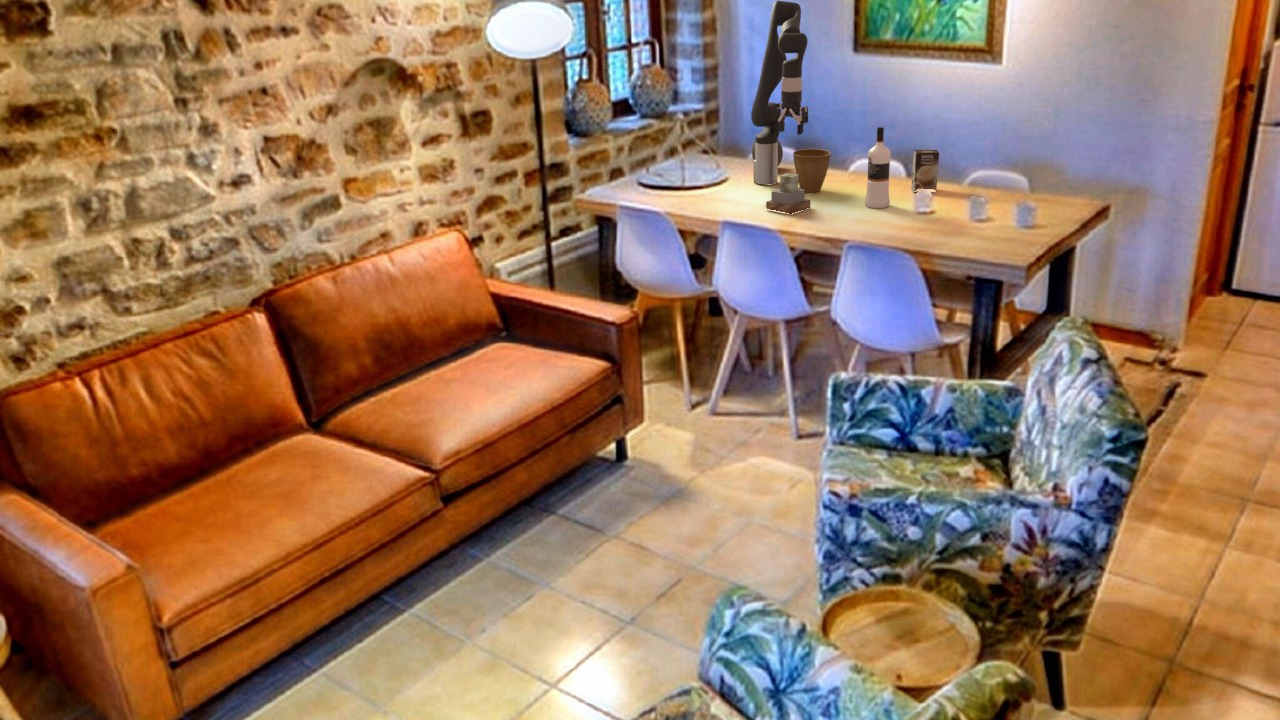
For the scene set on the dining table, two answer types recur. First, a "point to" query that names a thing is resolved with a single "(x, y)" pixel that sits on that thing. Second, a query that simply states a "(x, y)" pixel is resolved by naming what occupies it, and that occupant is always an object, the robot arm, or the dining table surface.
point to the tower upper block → (788, 196)
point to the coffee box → (925, 169)
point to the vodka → (878, 174)
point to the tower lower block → (789, 206)
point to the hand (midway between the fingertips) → (790, 132)
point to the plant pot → (811, 168)
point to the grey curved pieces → (780, 151)
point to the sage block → (789, 182)
